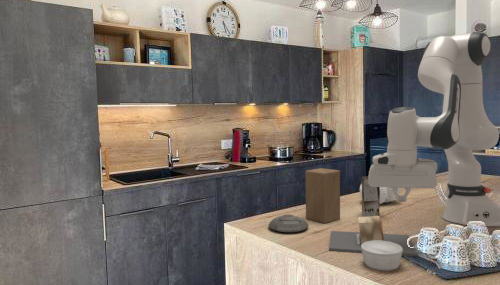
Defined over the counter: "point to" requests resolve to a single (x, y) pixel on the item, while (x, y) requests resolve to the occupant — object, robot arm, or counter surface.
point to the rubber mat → (353, 244)
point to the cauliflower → (385, 194)
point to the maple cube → (370, 228)
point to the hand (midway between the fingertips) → (401, 201)
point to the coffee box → (370, 198)
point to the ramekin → (381, 254)
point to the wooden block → (323, 195)
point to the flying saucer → (288, 223)
